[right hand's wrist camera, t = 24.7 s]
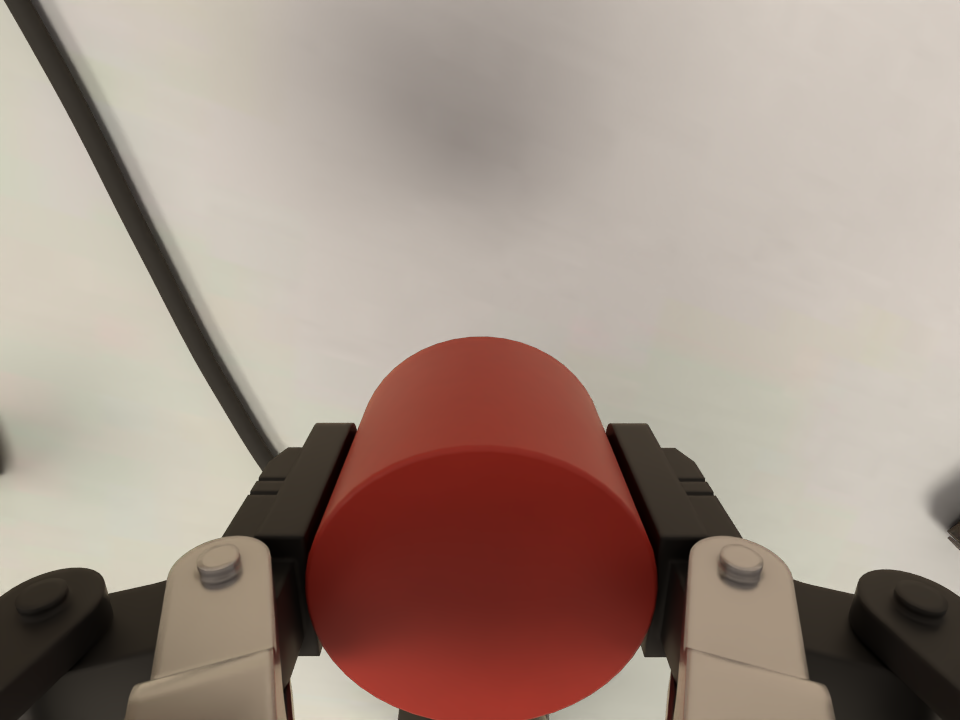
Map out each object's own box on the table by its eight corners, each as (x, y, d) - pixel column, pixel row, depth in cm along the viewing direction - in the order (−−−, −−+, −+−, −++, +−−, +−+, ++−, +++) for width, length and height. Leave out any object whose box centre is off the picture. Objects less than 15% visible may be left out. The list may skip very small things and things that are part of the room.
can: (362, 542, 13) (312, 721, 9) (356, 329, 11) (291, 439, 7) (586, 551, 13) (632, 732, 9) (616, 341, 12) (688, 455, 8)
